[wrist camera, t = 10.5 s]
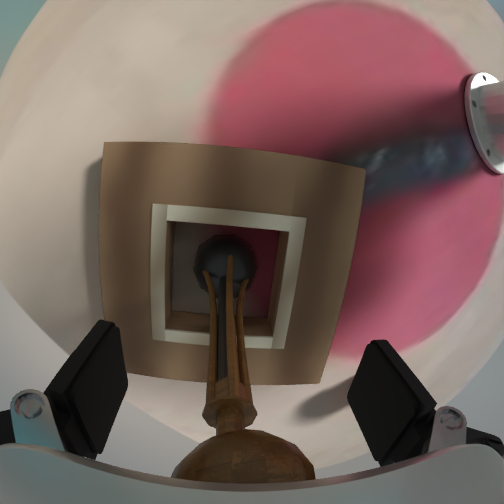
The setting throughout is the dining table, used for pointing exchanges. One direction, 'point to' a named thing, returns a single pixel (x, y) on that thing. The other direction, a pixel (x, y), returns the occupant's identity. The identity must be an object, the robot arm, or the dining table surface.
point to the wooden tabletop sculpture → (234, 383)
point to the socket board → (232, 214)
